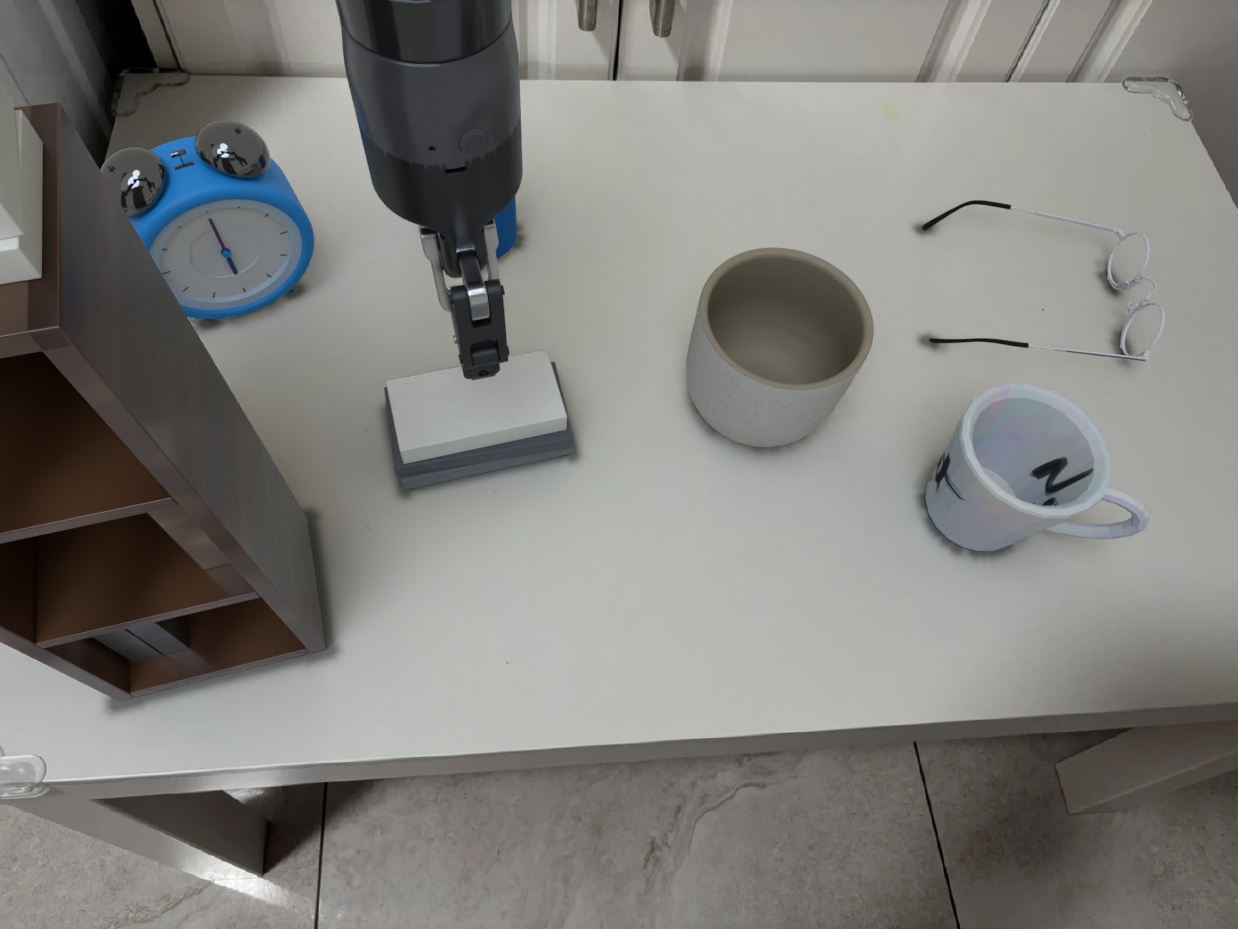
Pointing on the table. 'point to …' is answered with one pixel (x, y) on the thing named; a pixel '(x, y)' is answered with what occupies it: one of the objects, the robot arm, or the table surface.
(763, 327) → the planter
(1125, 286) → the eyeglasses
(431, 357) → the table surface
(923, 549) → the table surface
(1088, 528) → the mug
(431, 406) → the white flat block
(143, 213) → the alarm clock
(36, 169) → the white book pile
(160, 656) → the bookcase
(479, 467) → the grey book pile
